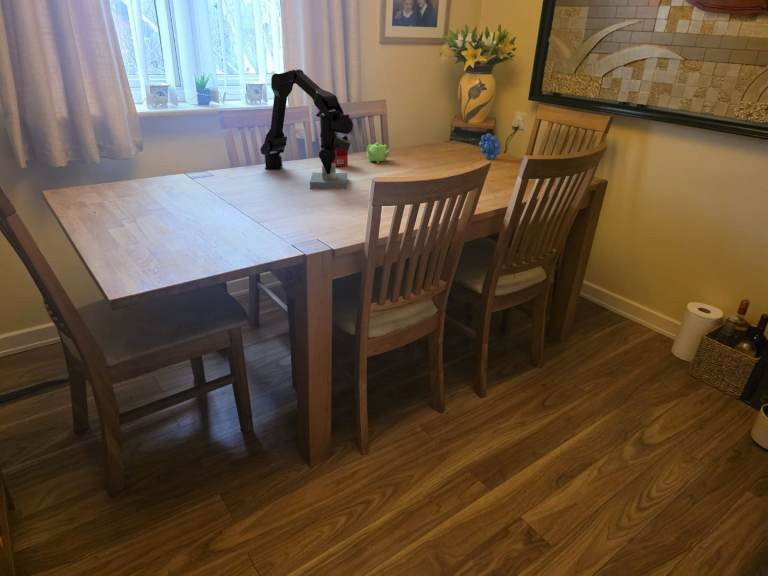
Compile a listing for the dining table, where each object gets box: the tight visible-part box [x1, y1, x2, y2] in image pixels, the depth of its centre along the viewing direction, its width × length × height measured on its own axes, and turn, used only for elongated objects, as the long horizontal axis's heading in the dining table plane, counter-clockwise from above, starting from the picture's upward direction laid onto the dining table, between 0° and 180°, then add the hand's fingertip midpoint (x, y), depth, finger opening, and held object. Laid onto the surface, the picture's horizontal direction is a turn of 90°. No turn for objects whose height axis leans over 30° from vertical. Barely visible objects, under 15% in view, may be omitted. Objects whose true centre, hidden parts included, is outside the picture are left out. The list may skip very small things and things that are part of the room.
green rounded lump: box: [365, 142, 392, 164], centre depth 234 cm, size 11×12×8 cm
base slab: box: [309, 172, 348, 190], centre depth 201 cm, size 14×14×2 cm
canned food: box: [332, 147, 349, 168], centre depth 225 cm, size 8×8×11 cm
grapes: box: [478, 132, 502, 160], centre depth 243 cm, size 12×7×12 cm, turn 50°
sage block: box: [321, 163, 337, 179], centre depth 199 cm, size 5×5×5 cm
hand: (328, 171), depth 199 cm, fingers open, 8 cm apart
